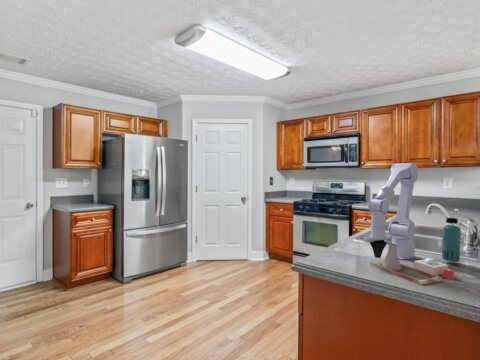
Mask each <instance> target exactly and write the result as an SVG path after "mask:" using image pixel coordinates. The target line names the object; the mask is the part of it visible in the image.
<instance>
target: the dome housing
mask: <svg viewBox="0 0 480 360" xmlns="http://www.w3.org/2000/svg"><path fill="white" fill-rule="evenodd" d="M424 260H425V259H419V260H414V261H413V268H416V269H419V270H421V271H424V272H427V273H430V274H433V275H436V276H443V269H445V268H448V269H449V267H448V264H445V263H443V262H439V261H437V264H438V265H437V266H431V265H428V264H424V263H423V262H424Z"/></svg>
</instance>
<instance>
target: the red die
mask: <svg viewBox="0 0 480 360" xmlns="http://www.w3.org/2000/svg"><path fill="white" fill-rule="evenodd" d="M455 272H456V269H452V268H449V267H448V268H445V269H443V275H442V279H448V280H451V281H452V280H454V279H455V278H456V277H455V275H456V273H455Z"/></svg>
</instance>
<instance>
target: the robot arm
mask: <svg viewBox="0 0 480 360" xmlns="http://www.w3.org/2000/svg"><path fill="white" fill-rule="evenodd" d="M418 175H419V167H418V165H417V163H416V162H407V163H406V162H405V163H404V162H401V163H400V162H399V163H397V162H394V163H392V165H391V168H390V176H389V178H388V180H387V182H386V184H385V185H384V186H381V187H380V190H379V192H378V193H377V194H376V195H375V197H374V198H373V199H370V201H369V203H368V206H367V207H368V209H369V210H368V211H369V214H370V217H371V219H370V234H369V235H368V236H366V237H365V236H364V237H363V243H367V244H368V243H369V244H370V246H371V248H372V251H373V256H374V257H375V258H377V259H381V258H382V255H383V251H384V249H385V247H386V246H387V245H388V242H387V241H391V244H396V245H397V247H396V252H397V256H398V259H400V260H408V259H414V258H417V256H416V255H415V251H416V249H415V248H416V247H415V245H416V244H415V241H414V239H413V237H414V236H415V233H416V229H415V222H414V221H413V220H412V219H411V218H410V213H411V212H410V211H411V205H412V199H413V192H414V187H415V186H414V185H415V183H417V181H418ZM399 183H400V184H401V185H400V191H399V196H398V197H399V198H398V204H397V210H396V216H395V217H392V218H391V219H390V222H389V225H388V227H387V225H386V223H387V222H386V221H387V213H388V212H389V211H390V205H391V202H390V201H391V200H392V199H393V197H394V195H395V188H396V187H397V186H398V184H399ZM386 227H387V232H388V233H389V234H386V233H387V232H386Z"/></svg>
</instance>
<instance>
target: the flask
mask: <svg viewBox="0 0 480 360" xmlns="http://www.w3.org/2000/svg"><path fill="white" fill-rule="evenodd" d="M387 245H388V250H387V253H386V256H385V258H384V260H383V262H382V265H381V266H384V267H387V268H389V269H392V270H395V271H397V272H400V271H403V268H402V267H401V264H402V263H401V262H400V260H399V258H398V256H397V252H396V247H397V245H396V244H392V243H387ZM400 263H401V264H400Z"/></svg>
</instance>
